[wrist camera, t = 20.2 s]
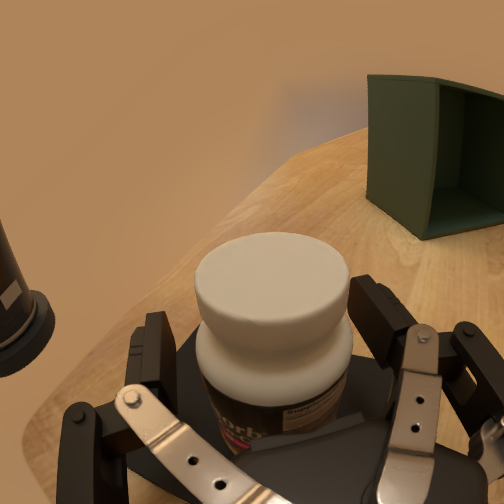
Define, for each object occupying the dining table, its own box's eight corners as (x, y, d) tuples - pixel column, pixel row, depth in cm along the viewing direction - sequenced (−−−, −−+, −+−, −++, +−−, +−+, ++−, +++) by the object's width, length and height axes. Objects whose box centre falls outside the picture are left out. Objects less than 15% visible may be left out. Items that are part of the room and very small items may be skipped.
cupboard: (511, 221, 32) (527, 104, 23) (421, 240, 30) (435, 77, 21) (457, 189, 43) (464, 89, 34) (365, 198, 41) (366, 74, 32)
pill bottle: (202, 420, 15) (145, 266, 10) (282, 367, 18) (275, 211, 13) (271, 494, 11) (255, 377, 6) (354, 422, 14) (400, 263, 9)
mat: (102, 449, 13) (98, 445, 13) (205, 322, 22) (204, 318, 22) (391, 559, 7) (395, 558, 7) (428, 372, 16) (431, 367, 16)
